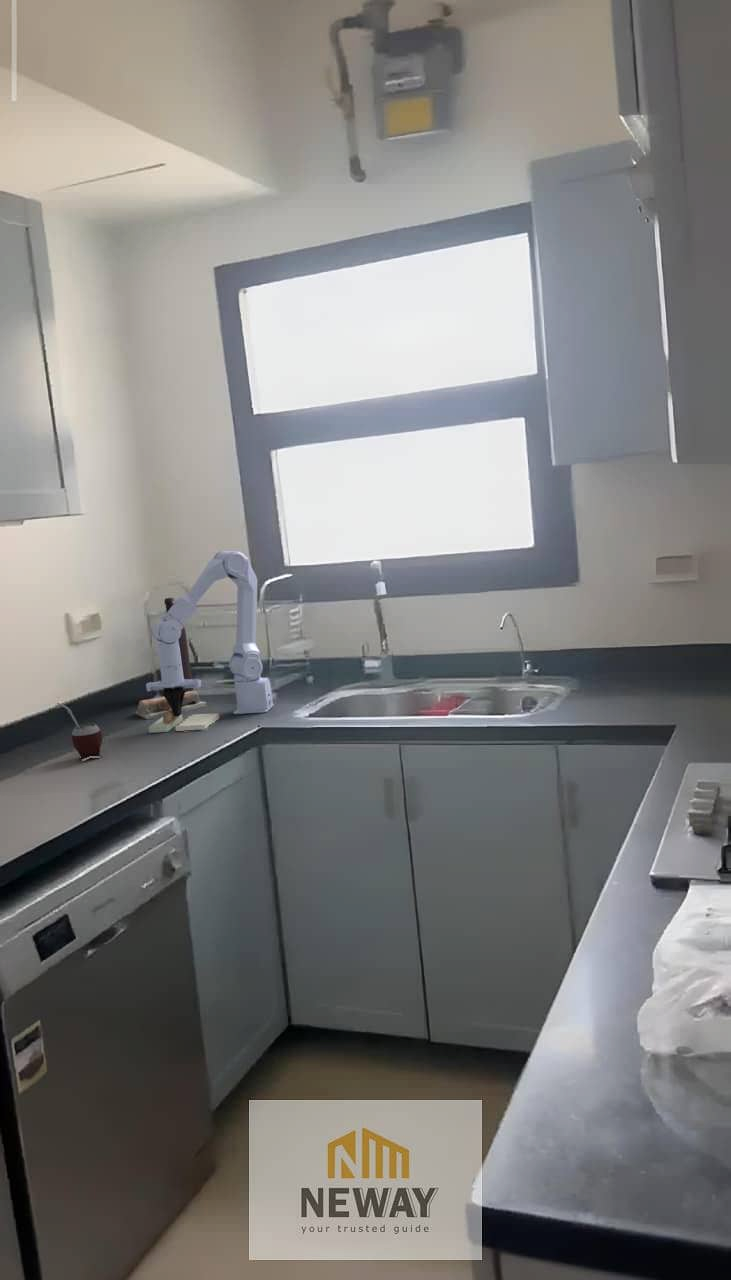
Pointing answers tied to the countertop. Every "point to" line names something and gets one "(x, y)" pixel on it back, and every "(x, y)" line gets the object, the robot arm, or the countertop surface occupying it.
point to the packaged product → (167, 705)
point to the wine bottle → (182, 647)
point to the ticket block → (197, 721)
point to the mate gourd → (85, 738)
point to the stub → (165, 722)
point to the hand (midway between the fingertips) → (177, 715)
